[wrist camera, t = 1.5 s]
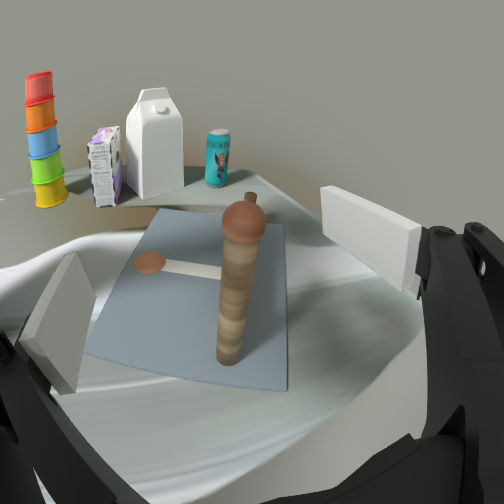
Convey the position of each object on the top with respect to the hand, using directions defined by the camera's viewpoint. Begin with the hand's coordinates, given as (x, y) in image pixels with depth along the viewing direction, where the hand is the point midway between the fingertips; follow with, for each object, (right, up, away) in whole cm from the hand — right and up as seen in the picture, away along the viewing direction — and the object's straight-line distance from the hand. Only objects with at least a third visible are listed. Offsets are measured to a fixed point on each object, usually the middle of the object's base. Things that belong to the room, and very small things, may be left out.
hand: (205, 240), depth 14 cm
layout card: (-6, -5, +34) cm, 35 cm away
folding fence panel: (0, -10, +27) cm, 29 cm away
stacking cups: (-51, +13, +48) cm, 71 cm away
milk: (-24, +17, +58) cm, 65 cm away
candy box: (-34, +14, +52) cm, 64 cm away
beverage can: (-8, +17, +61) cm, 64 cm away
